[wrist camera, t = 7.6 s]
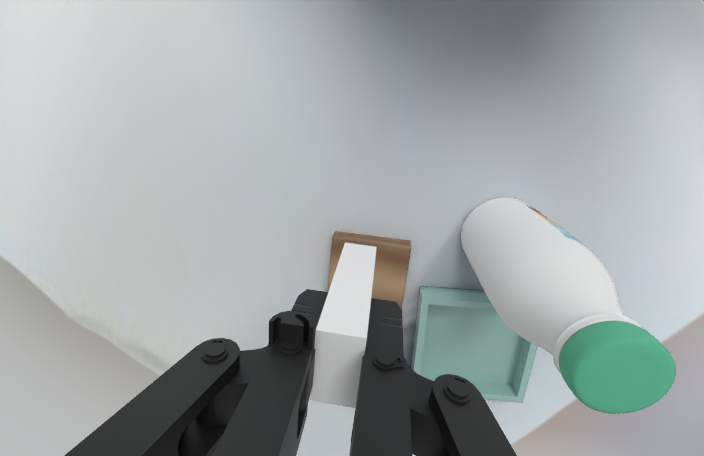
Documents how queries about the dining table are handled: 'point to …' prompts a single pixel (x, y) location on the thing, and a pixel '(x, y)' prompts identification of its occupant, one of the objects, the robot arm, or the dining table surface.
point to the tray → (470, 343)
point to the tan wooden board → (378, 263)
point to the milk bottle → (565, 306)
